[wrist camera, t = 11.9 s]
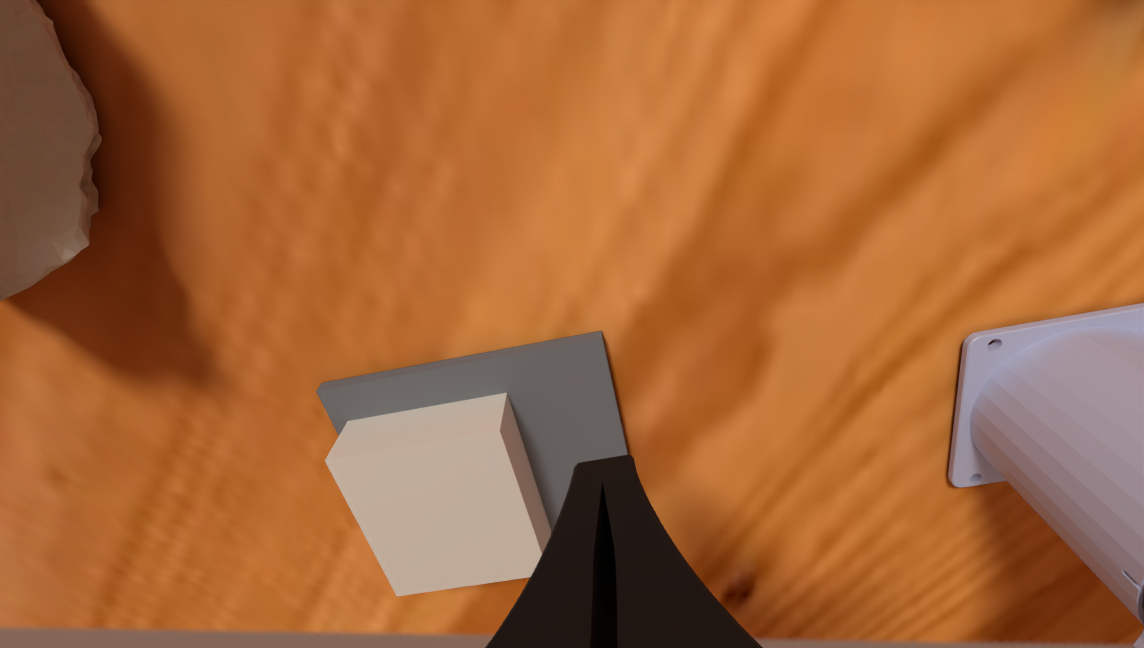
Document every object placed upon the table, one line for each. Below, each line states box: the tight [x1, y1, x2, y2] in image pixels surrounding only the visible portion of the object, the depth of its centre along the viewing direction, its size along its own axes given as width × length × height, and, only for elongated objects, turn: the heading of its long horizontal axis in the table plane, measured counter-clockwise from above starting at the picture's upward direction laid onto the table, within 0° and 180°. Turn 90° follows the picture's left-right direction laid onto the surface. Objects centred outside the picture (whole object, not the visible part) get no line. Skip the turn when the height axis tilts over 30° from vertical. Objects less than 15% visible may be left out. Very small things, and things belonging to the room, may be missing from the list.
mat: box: [316, 331, 628, 534], centre depth 26 cm, size 12×12×1 cm
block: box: [325, 393, 551, 596], centre depth 25 cm, size 2×8×7 cm
